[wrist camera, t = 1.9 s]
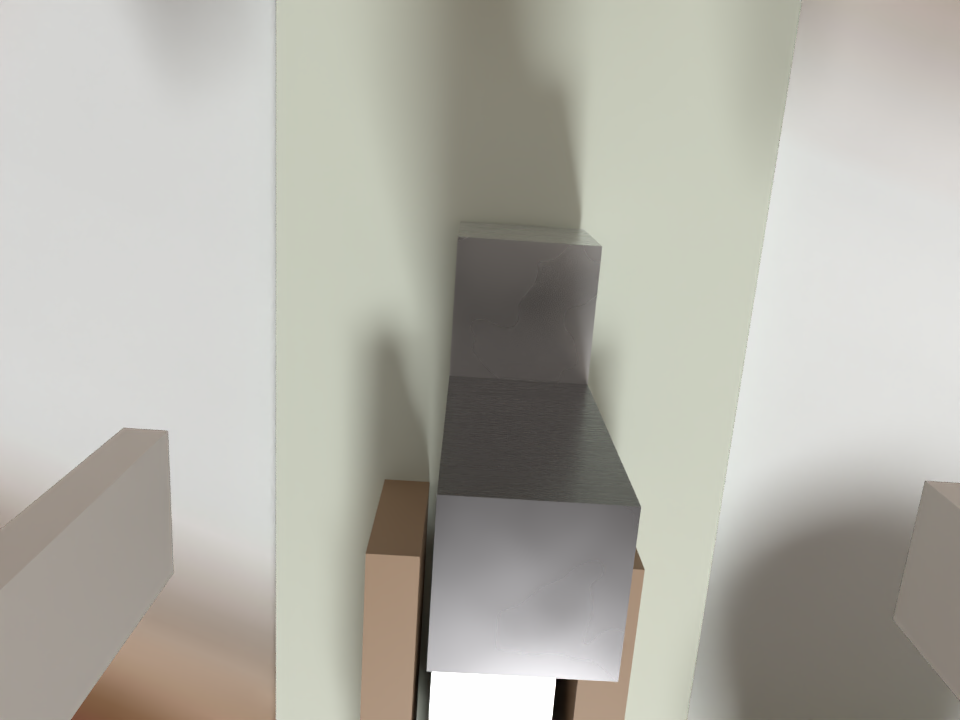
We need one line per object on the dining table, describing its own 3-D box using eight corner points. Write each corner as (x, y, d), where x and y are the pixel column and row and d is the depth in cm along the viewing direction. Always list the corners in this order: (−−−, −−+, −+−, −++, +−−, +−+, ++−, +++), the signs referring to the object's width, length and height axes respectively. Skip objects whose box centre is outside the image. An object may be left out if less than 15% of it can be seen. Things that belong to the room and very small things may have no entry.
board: (284, 791, 26) (224, 999, 20) (288, -326, 18) (189, -568, 12) (659, 810, 26) (715, 1021, 20) (827, -282, 18) (1010, -495, 12)
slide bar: (425, 796, 24) (397, 1164, 16) (460, 221, 20) (448, 292, 11) (526, 801, 24) (553, 1170, 16) (584, 229, 20) (667, 306, 11)
